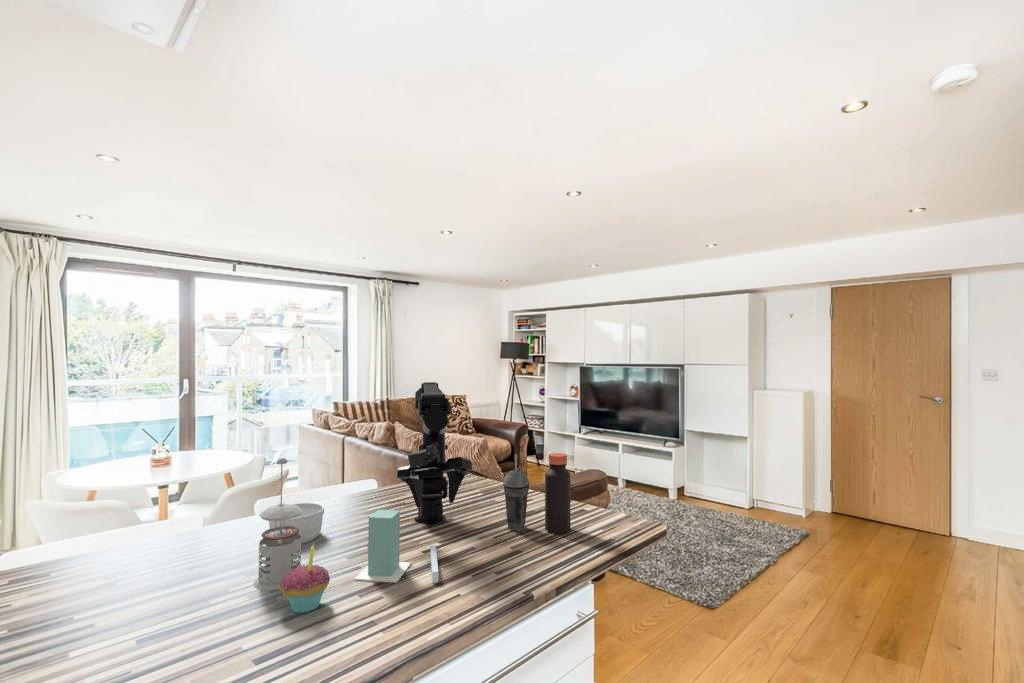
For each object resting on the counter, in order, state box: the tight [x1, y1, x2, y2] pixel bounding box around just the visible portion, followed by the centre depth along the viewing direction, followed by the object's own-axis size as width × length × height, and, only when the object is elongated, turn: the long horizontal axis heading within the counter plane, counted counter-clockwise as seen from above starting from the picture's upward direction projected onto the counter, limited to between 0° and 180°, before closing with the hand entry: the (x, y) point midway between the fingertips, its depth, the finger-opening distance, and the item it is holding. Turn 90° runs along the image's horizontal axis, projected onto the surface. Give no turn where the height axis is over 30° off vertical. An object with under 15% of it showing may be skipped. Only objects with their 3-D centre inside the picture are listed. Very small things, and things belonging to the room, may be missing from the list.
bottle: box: [544, 452, 572, 535], centre depth 129 cm, size 7×7×20 cm
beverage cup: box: [502, 453, 531, 532], centre depth 130 cm, size 7×7×20 cm
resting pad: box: [354, 561, 412, 584], centre depth 103 cm, size 9×9×1 cm
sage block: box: [367, 509, 401, 576], centre depth 103 cm, size 5×5×12 cm
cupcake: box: [279, 542, 331, 614], centre depth 89 cm, size 9×8×12 cm
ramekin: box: [268, 502, 325, 546], centre depth 123 cm, size 13×13×7 cm
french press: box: [252, 457, 302, 592], centre depth 101 cm, size 10×12×25 cm
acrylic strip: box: [429, 545, 439, 584], centre depth 105 cm, size 14×1×2 cm, turn 11°
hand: (434, 505), depth 117 cm, fingers open, 9 cm apart
